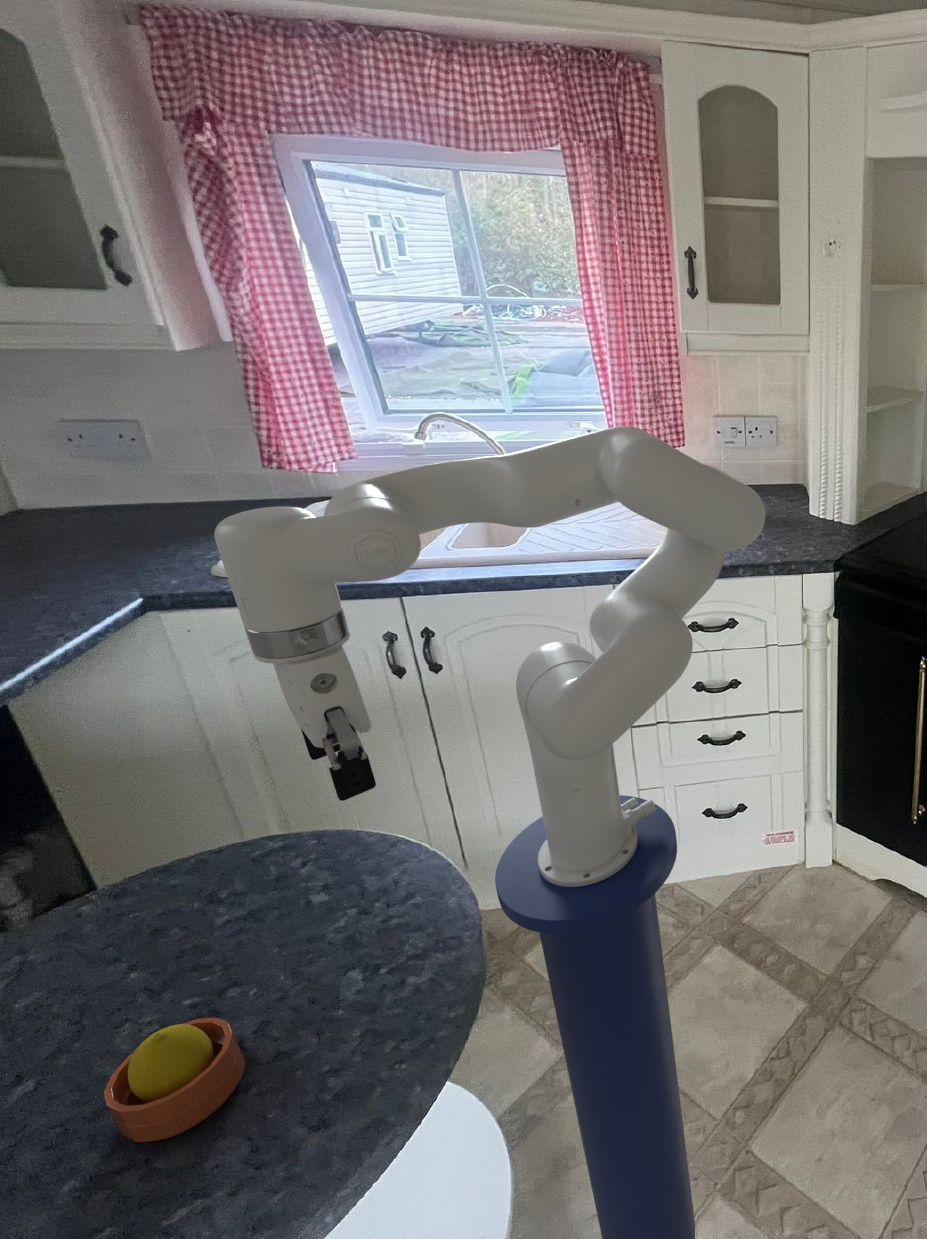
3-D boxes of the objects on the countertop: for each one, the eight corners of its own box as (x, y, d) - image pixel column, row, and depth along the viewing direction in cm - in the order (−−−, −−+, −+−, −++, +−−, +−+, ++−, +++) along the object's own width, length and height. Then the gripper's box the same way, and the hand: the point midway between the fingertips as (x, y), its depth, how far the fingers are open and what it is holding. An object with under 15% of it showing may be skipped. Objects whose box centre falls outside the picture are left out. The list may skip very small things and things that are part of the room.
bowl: (235, 1034, 76) (220, 1001, 74) (256, 1091, 71) (240, 1056, 69) (118, 1100, 70) (99, 1066, 68) (132, 1168, 65) (111, 1132, 63)
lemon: (235, 1079, 71) (209, 1023, 68) (161, 1134, 67) (129, 1077, 64) (208, 1052, 74) (181, 996, 71) (134, 1103, 69) (102, 1046, 66)
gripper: (373, 647, 70) (412, 791, 76) (319, 594, 80) (357, 725, 86) (274, 678, 64) (324, 830, 71) (229, 616, 74) (277, 754, 81)
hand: (342, 772), depth 78 cm, fingers open, 9 cm apart
